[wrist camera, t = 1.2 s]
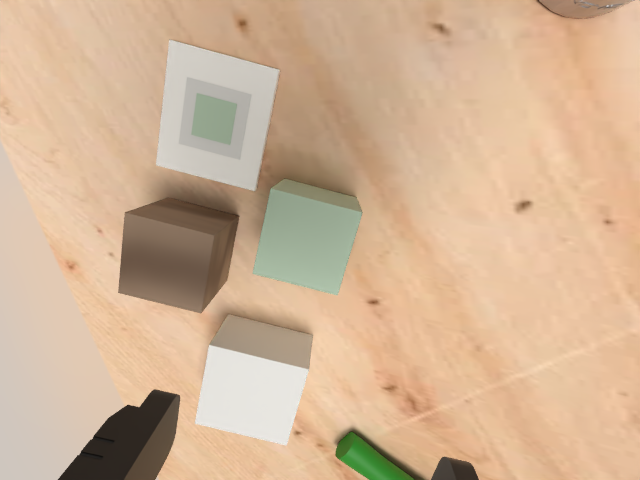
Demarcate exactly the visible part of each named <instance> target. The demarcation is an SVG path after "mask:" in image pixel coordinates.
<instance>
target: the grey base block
mask: <svg viewBox="0 0 640 480" xmlns="http://www.w3.org/2000/svg"><path fill="white" fill-rule="evenodd" d="M312 339H313V335H310V334H306V333H302V332H298V331H294V330H290V329H286V328H282V327H278V326H274V325H270V324H266V323H262V322H258V321H254V320H250V319H246V318H242V317H238V316H234V315H230V314H228V316H227V317H226V319H225V320H224V322H223V324H222V325H221V327H220V328H219V330H218V332H217V333H216V335H215V336H214V338H213V340H212V341H211V343H210V344H209V349H208V354H207V360H206V365H205V371H204V376H203V382H202V387H201V393H200V398H199V404H198V409H197V415H196V420H195V424H199V425H203V426H207V427H211V428H216V429H220V430H224V431H228V432H232V433H236V434H241V435H245V436H249V437H253V438H257V439H262V440H266V441H270V442H274V443H278V444H282V445H287V442H288V439H289V435H290V432H291V429H292V425H293V422H294V418H295V415H296V412H297V408H298V405H299V401H300V398H301V395H302V391H303V388H304V385H305V381H306V378H307V374H308V371H309V365H310V356H311V347H312Z"/></svg>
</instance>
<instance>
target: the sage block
mask: <svg viewBox="0 0 640 480" xmlns="http://www.w3.org/2000/svg"><path fill="white" fill-rule="evenodd" d="M361 216H362V210H361V207H360V205H359V202H358V200H357V197H353V196H349V195H345V194H342V193H338V192H334V191H330V190H327V189H323V188H319V187H315V186H311V185H308V184H304V183H300V182H296V181H293V180H289V179H285V178H284V179H283V180H282V181H280V182H279V183H278V184H276V185H275V186H273V187H272V188H271V189H270V194H269V199H268V203H267V208H266V213H265V218H264V222H263V227H262V232H261V236H260V241H259V246H258V250H257V255H256V260H255V265H254V269H253V274H256V275H260V276H263V277H267V278H271V279H275V280H279V281H283V282H287V283H291V284H295V285H299V286H303V287H307V288H311V289H314V290H318V291H322V292H326V293H330V294H334V295H338V292H339V289H340V285H341V282H342V279H343V276H344V272H345V269H346V266H347V262H348V259H349V256H350V252H351V249H352V246H353V242H354V239H355V236H356V233H357V229H358V226H359V223H360V219H361Z"/></svg>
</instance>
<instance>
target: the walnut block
mask: <svg viewBox="0 0 640 480" xmlns="http://www.w3.org/2000/svg"><path fill="white" fill-rule="evenodd" d="M238 220H239V216H237V215H233V214H230V213H226V212H222V211H218V210H214V209H210V208H206V207H203V206H199V205H195V204H191V203H187V202H183V201H179V200H176V199H172V198H166V199H163V200H160V201H157V202H154V203H152V204H149V205H146V206H143V207H140V208H137V209H134V210H131V211H128V212H125V217H124V229H123V242H122V254H121V266H120V279H119V291H118V293H121V294H125V295H129V296H133V297H137V298H141V299H145V300H149V301H153V302H157V303H161V304H165V305H169V306H174V307H178V308H182V309H186V310H190V311H194V312H198V313H202V312H203V310H204V309H205V308H206V307H207V305H208V304H209V303H210V301H211V300H212V299H213V298H214V296H215V295H216V294H217V292H218V291H219V290H220V289H221V287H222V286H223V285H224V283H225V282H226V281H227V278H228V273H229V268H230V262H231V257H232V252H233V247H234V241H235V236H236V231H237V225H238Z"/></svg>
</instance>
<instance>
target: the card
mask: <svg viewBox="0 0 640 480" xmlns="http://www.w3.org/2000/svg"><path fill="white" fill-rule="evenodd" d="M279 76H280V70H279V69H275V68H271V67H268V66H264V65H260V64H257V63H253V62H249V61H246V60H242V59H239V58H235V57H231V56H228V55H224V54H220V53H217V52H213V51H209V50H206V49H202V48H199V47H195V46H191V45H188V44H184V43H180V42H177V41H173V40H170V39H169V48H168V57H167V66H166V76H165V85H164V95H163V104H162V113H161V123H160V132H159V141H158V151H157V160H156V165H157V166H161V167H164V168H168V169H172V170H176V171H180V172H184V173H187V174H191V175H195V176H199V177H203V178H206V179H210V180H214V181H218V182H222V183H225V184H229V185H233V186H237V187H241V188H244V189H248V190H252V191H256V190H257V186H258V181H259V176H260V171H261V166H262V161H263V156H264V151H265V146H266V141H267V136H268V131H269V126H270V121H271V116H272V111H273V106H274V101H275V96H276V91H277V86H278V81H279Z"/></svg>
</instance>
